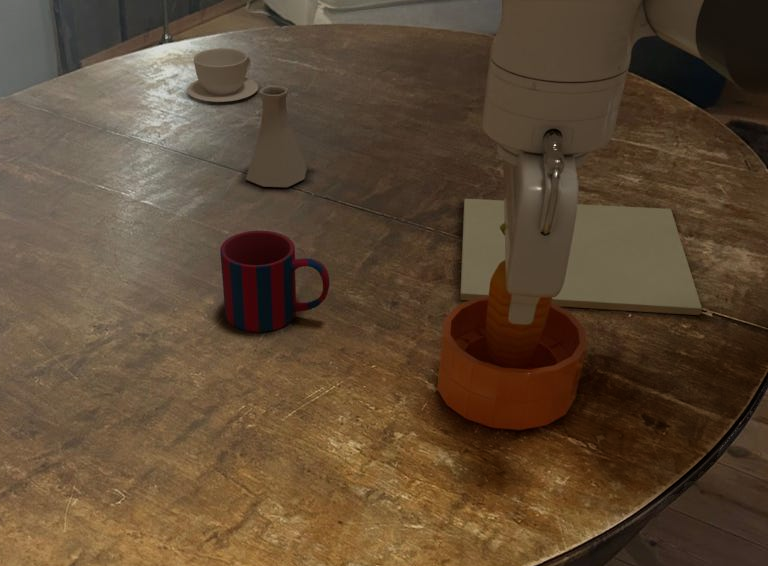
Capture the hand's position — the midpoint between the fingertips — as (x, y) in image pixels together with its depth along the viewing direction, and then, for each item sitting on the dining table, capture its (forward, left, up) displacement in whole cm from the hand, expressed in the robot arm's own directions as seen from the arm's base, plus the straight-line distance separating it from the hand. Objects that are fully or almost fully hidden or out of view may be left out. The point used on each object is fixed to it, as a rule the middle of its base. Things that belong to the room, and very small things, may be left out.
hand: (518, 285), depth 71 cm
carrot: (0, 0, -10) cm, 10 cm away
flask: (+26, -39, -10) cm, 48 cm away
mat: (-7, -24, -10) cm, 27 cm away
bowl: (0, 0, -10) cm, 10 cm away
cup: (+21, -9, -10) cm, 25 cm away
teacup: (+38, -65, -10) cm, 76 cm away
